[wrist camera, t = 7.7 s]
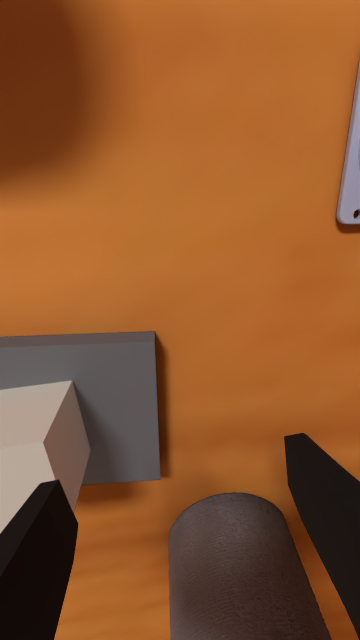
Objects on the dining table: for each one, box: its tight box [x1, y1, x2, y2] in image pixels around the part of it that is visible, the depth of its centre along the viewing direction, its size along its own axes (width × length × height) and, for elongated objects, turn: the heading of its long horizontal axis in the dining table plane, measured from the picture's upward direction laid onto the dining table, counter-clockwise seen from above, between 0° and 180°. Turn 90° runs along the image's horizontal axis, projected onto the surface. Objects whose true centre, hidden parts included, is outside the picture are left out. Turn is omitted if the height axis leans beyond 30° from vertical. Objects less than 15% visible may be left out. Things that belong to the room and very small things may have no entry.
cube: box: [0, 381, 91, 533], centre depth 17 cm, size 5×5×5 cm
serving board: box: [0, 331, 160, 485], centre depth 20 cm, size 14×10×2 cm
